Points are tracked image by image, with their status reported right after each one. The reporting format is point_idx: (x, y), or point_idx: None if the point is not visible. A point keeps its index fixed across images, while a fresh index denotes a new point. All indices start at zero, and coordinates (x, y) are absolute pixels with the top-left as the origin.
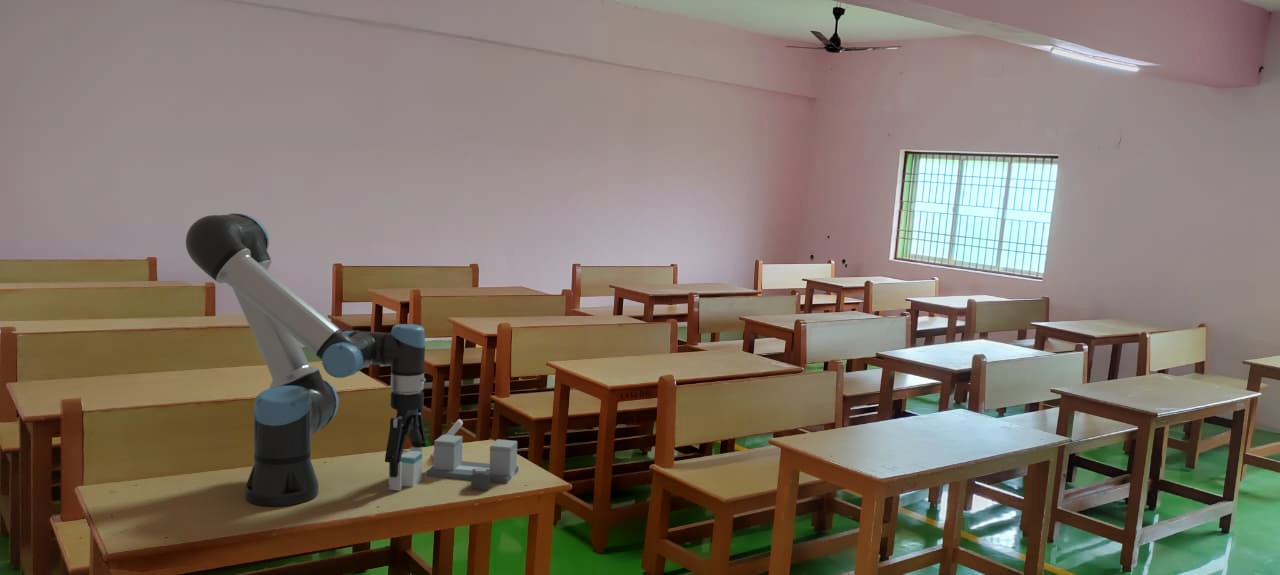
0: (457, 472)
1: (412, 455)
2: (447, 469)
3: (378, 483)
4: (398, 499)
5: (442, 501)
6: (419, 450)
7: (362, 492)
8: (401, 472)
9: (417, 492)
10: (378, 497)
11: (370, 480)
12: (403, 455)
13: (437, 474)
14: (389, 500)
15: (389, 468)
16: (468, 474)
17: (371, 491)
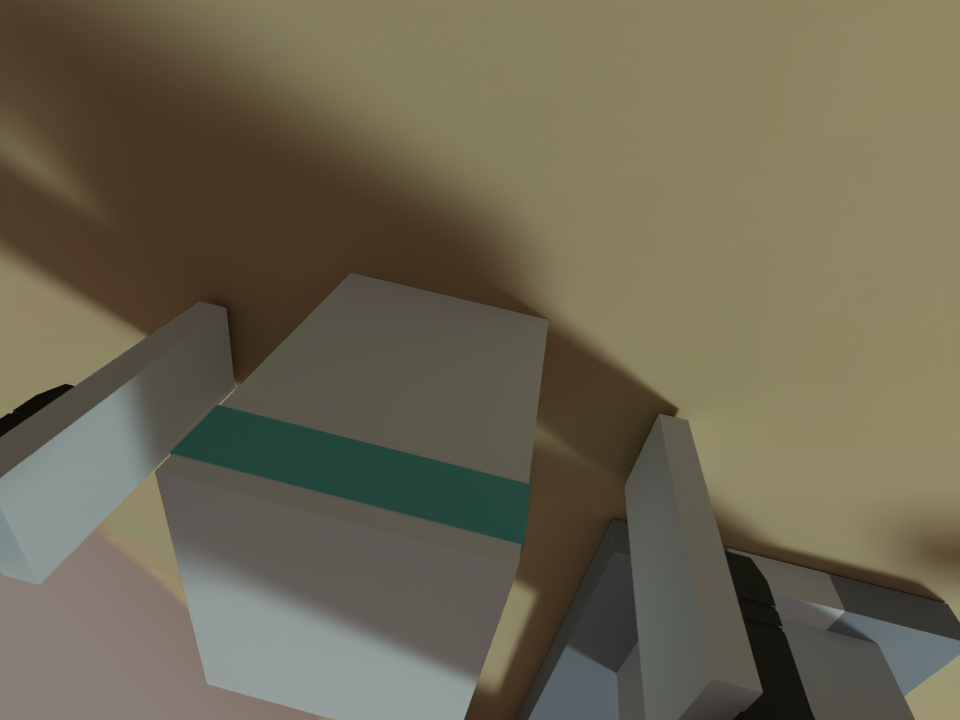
0: (575, 684)
1: (278, 680)
2: (631, 655)
3: (354, 169)
4: (73, 383)
5: (164, 573)
6: (651, 710)
7: (54, 63)
8: (127, 489)
9: None
10: (29, 245)
11: (436, 44)
12: (234, 615)
13: (588, 586)
14: (24, 332)
15: (35, 418)
16: (537, 715)
17: (120, 151)
